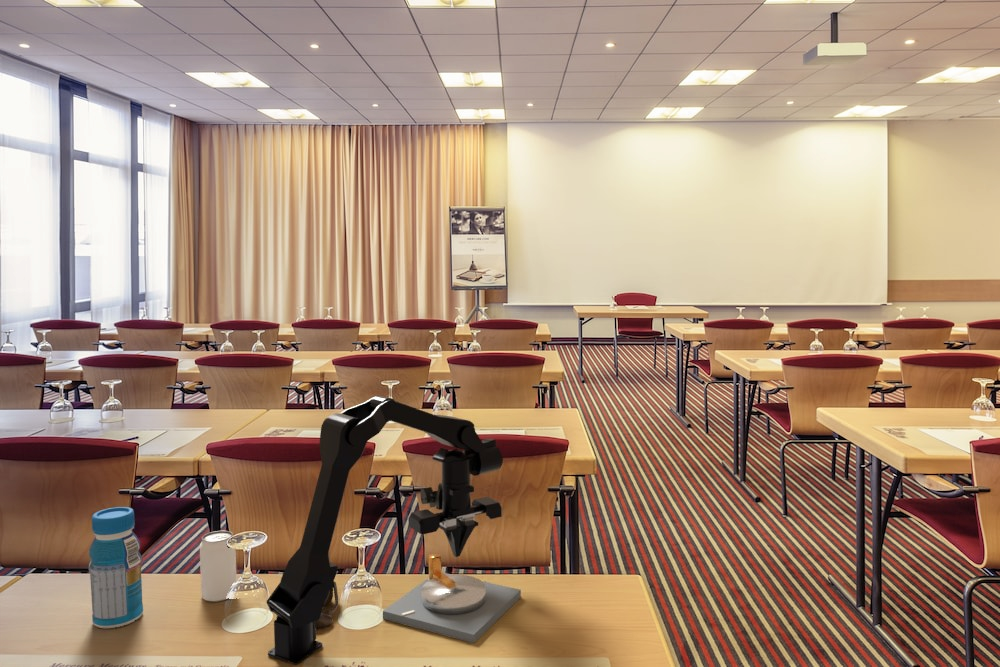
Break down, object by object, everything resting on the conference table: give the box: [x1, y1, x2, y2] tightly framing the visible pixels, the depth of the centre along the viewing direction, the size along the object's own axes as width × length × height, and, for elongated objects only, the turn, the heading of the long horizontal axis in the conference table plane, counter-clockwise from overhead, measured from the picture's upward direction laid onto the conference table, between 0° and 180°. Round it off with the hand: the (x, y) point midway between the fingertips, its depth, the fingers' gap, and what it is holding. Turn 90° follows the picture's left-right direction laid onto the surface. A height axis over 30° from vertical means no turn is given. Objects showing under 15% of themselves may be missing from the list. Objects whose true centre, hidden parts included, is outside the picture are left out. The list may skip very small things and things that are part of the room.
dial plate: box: [382, 571, 522, 644], centre depth 131 cm, size 19×19×2 cm
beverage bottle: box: [88, 506, 144, 629], centre depth 127 cm, size 8×8×20 cm
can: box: [199, 530, 238, 603], centre depth 136 cm, size 6×6×12 cm
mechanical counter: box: [316, 581, 339, 629], centre depth 130 cm, size 7×13×10 cm
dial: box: [422, 553, 486, 614], centre depth 132 cm, size 15×12×6 cm
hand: (456, 556), depth 140 cm, fingers closed
